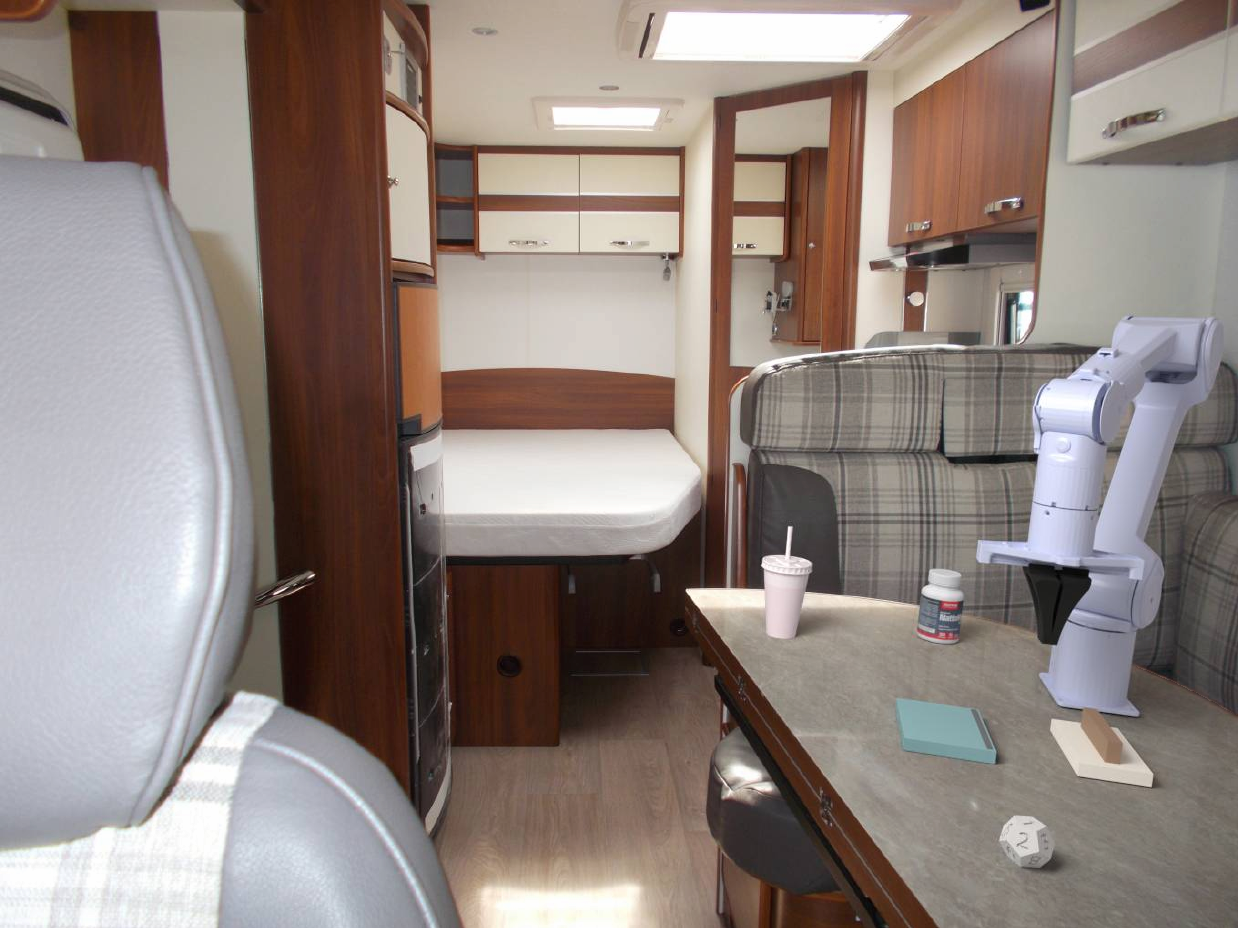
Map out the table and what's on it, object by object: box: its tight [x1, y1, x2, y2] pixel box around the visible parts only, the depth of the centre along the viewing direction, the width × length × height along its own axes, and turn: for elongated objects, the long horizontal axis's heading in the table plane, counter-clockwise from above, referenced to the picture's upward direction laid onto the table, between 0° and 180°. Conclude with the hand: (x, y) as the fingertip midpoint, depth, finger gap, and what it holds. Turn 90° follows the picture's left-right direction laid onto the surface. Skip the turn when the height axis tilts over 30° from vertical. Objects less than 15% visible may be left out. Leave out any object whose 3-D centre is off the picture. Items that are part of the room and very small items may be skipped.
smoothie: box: [760, 525, 813, 640], centre depth 113 cm, size 6×6×14 cm
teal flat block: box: [894, 697, 997, 765], centre depth 86 cm, size 10×8×1 cm
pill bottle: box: [916, 568, 965, 645], centre depth 116 cm, size 5×5×9 cm
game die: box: [998, 815, 1056, 869], centre depth 65 cm, size 4×4×3 cm
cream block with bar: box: [1049, 707, 1154, 788], centre depth 83 cm, size 10×6×3 cm, turn 167°
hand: (1047, 641), depth 87 cm, fingers closed
